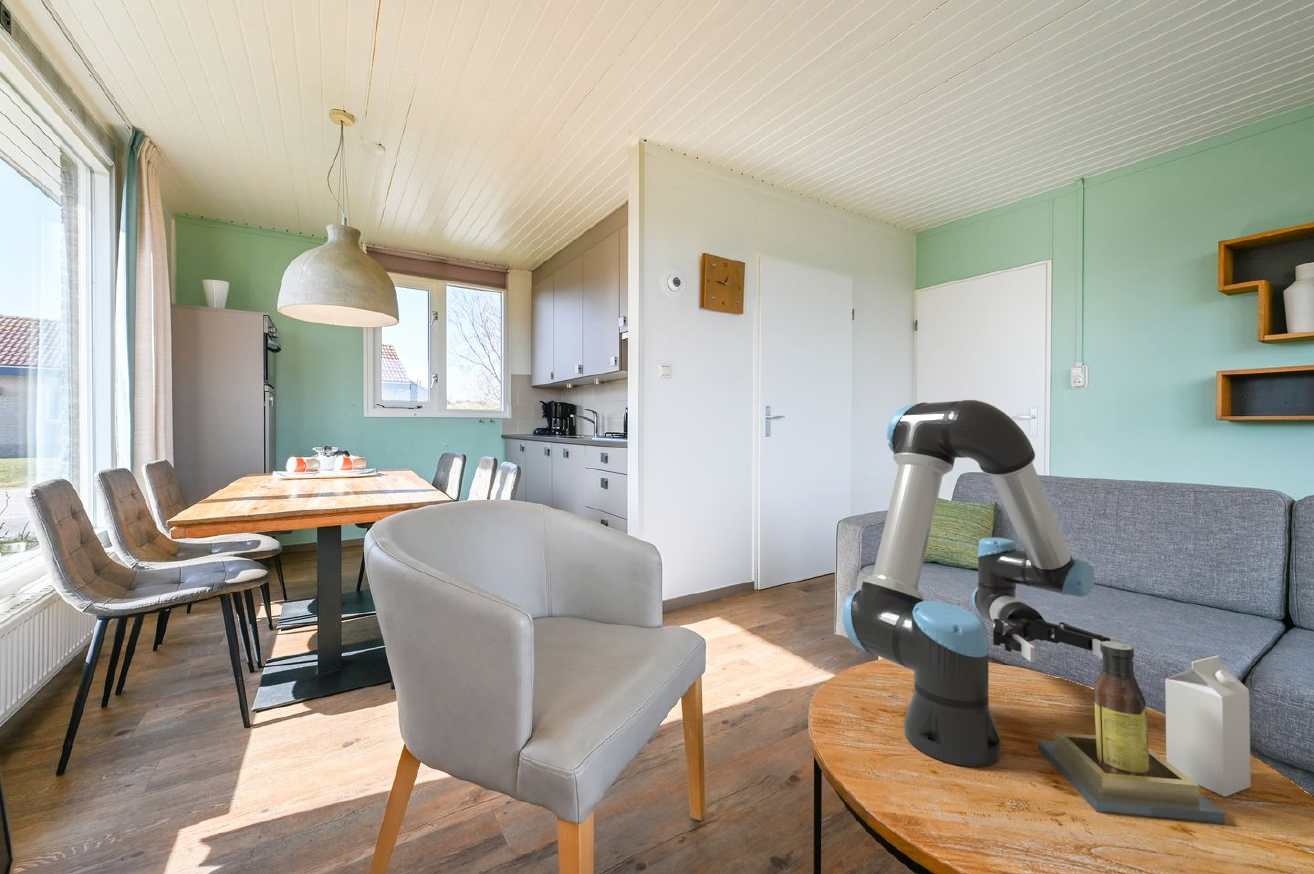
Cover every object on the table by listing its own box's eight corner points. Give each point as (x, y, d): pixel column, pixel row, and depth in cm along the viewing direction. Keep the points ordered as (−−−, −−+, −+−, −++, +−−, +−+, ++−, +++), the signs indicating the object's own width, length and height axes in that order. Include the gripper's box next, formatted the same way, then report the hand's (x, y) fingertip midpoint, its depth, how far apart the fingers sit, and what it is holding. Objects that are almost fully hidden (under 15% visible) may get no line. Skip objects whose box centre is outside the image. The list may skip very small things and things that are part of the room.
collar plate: (1096, 811, 78) (1096, 783, 78) (1037, 748, 93) (1037, 725, 93) (1225, 824, 75) (1224, 795, 75) (1141, 757, 91) (1141, 733, 91)
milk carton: (1166, 771, 87) (1164, 653, 87) (1192, 761, 89) (1190, 647, 89) (1224, 798, 80) (1222, 671, 80) (1251, 787, 83) (1249, 664, 83)
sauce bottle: (1160, 786, 81) (1159, 654, 81) (1118, 786, 81) (1117, 654, 81) (1123, 760, 87) (1122, 638, 87) (1085, 760, 87) (1083, 638, 88)
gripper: (1081, 639, 114) (1155, 683, 93) (954, 632, 119) (998, 673, 98) (1080, 604, 114) (1154, 640, 94) (954, 598, 119) (998, 631, 98)
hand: (1075, 657), depth 96 cm, fingers open, 13 cm apart
